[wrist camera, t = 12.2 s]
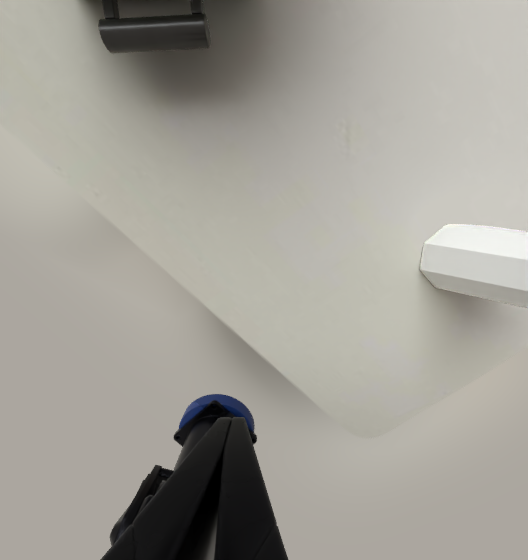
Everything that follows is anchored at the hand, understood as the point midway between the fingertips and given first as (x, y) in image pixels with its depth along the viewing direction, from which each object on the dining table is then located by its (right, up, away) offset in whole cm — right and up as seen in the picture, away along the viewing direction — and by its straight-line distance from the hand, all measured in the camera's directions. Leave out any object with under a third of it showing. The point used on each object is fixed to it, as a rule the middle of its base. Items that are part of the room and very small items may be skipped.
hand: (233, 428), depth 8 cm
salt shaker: (+16, +7, +12) cm, 21 cm away
